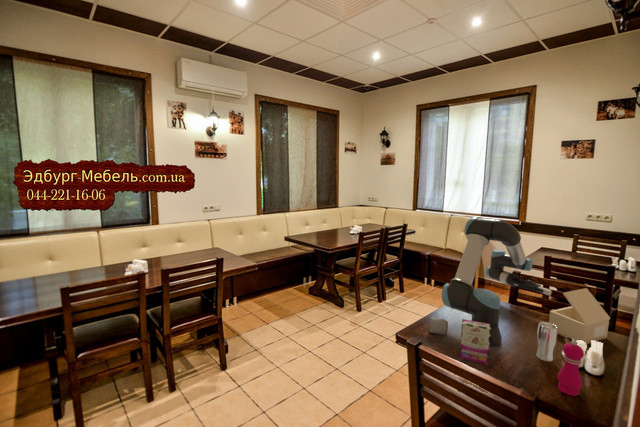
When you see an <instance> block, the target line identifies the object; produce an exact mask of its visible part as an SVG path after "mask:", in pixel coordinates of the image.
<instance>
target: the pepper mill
mask: <svg viewBox="0 0 640 427" xmlns="http://www.w3.org/2000/svg"><path fill="white" fill-rule="evenodd" d="M562 352H563V353H564V354H563V360H564V364H563V366H562V367H561V369H560V370H559V371H558V373H557V381H558V383H557V389H558V390H559V391H560V392H561V393H562V392H563V393H562V394H564V393H566V394H568V395H567V396H569V395H574V396H576V395H579V396H580V392H581V391H580V389H581V388H582V386H583V380H582V379H583V378H582V376H581V374H580V371H579V366H580V365H581V363H582V359H583V358H584V356H585V352H584V349H583V348H582V347H581V346H580V345H579V344H578V343H577V342H576V341H575V340H570V342H567V343H565V344H564V345H563V347H562ZM566 394H565V395H566Z"/></svg>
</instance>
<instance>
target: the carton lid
mask: <svg viewBox="0 0 640 427" xmlns="http://www.w3.org/2000/svg"><path fill="white" fill-rule="evenodd" d="M562 294H563V296H564V297H565V299H566V300H567V301H568V303H569V304H570V305H571V306H572V307H573V308H574V309H575V311H576V312H577V314H578V315H579V316H580V318H581V319H582V320H583V322H584V323H585V325H589V324H593V323H597V322H600V321H604V320H608V319H609V320H611V317H610V316H609V315H608V313H607V312H606V311H605V309H604V308H603V307H602V305H601V304H600V303H599V302H598V300H597V299H596V298H595V296H594V295H593V294H592V293H591V292H590V290H589V289H588V288H587V287H586V288H580V289H575V290H570V291H565V292H562Z"/></svg>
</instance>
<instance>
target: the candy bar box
mask: <svg viewBox="0 0 640 427" xmlns="http://www.w3.org/2000/svg"><path fill="white" fill-rule="evenodd" d="M460 331H461V334H460V349H459V350H460V352H459V359H461V360H465V361H468V362H469V361H470V362H472V363H473V362H474V363H476V364H477V363H478V364H482V365H486V366H488V365H489V359H490V347H491V346H490V333H491V328H490V324H487V323H482V322H476V321H471V319H465V318H464V319H463V318H462V319H461V330H460Z"/></svg>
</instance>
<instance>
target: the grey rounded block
mask: <svg viewBox="0 0 640 427" xmlns="http://www.w3.org/2000/svg"><path fill="white" fill-rule="evenodd" d="M429 324H430V326H429V332H430V333H432V334H438V335H447V334H448V330H449V328H448V327H449V326H448V325H449V322H448V320H446V319H443V318H439V317H436V316H435V317H434V316H431V317H430V322H429Z"/></svg>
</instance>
